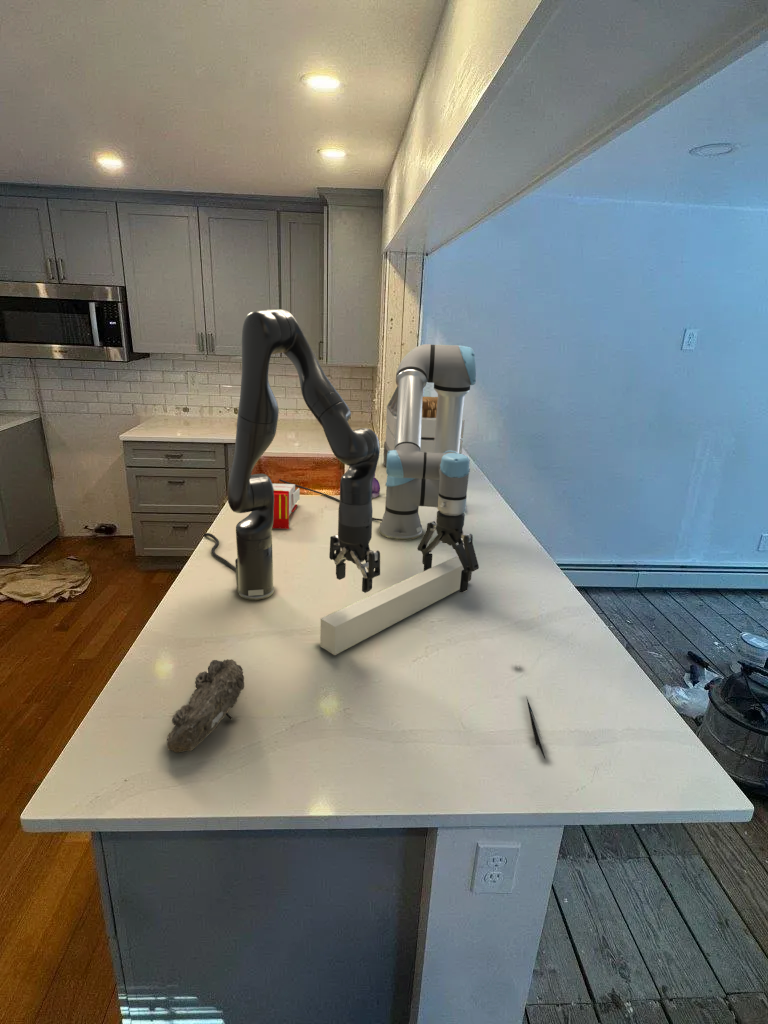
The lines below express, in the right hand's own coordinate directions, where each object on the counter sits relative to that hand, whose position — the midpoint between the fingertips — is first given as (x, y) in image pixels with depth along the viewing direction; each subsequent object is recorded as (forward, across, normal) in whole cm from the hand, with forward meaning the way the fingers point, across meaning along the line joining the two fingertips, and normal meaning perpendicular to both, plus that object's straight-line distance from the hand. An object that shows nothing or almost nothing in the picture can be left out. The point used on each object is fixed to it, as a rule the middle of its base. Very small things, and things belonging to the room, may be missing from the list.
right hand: (444, 583), depth 160 cm
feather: (+3, +43, -28) cm, 52 cm away
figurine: (+2, -74, +45) cm, 86 cm away
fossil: (+3, +2, -74) cm, 74 cm away
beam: (+2, 0, -18) cm, 18 cm away
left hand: (-12, 0, -36) cm, 38 cm away
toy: (+2, -78, +2) cm, 78 cm away
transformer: (+2, -83, +88) cm, 121 cm away
